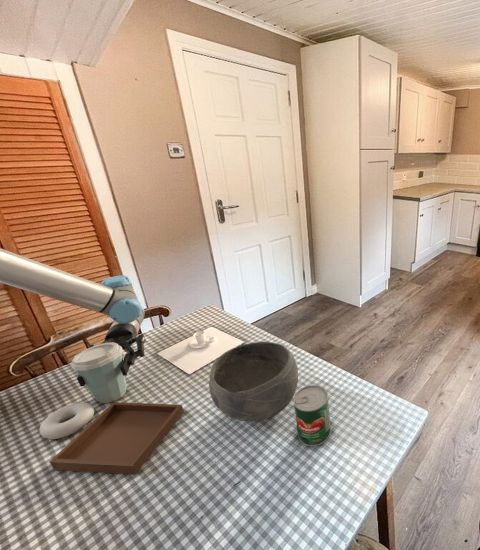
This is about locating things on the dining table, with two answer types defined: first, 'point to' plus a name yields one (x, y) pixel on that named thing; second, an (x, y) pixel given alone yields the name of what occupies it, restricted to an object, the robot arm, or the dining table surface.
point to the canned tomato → (312, 415)
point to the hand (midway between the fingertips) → (102, 376)
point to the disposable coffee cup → (102, 371)
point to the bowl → (253, 381)
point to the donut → (57, 429)
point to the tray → (119, 438)
